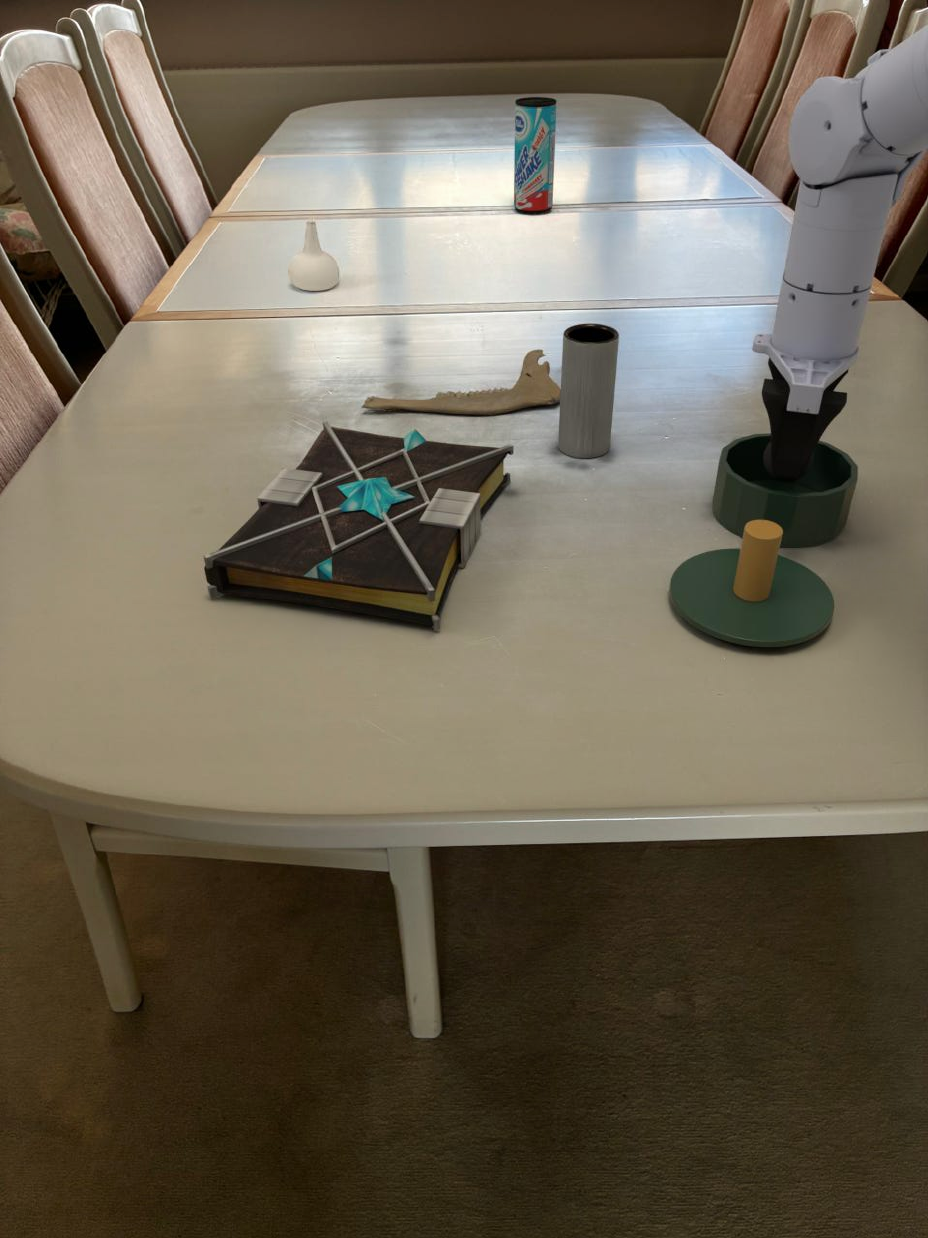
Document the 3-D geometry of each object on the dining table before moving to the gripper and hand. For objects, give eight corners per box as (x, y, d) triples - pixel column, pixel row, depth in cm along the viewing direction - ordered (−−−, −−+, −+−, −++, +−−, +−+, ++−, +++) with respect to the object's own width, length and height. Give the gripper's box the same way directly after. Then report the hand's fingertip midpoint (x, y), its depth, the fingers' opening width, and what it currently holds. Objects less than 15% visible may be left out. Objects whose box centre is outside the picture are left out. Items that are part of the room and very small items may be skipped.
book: (325, 457, 83) (319, 404, 80) (514, 481, 80) (515, 426, 77) (207, 600, 67) (194, 540, 64) (437, 638, 63) (435, 576, 60)
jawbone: (590, 402, 93) (592, 383, 91) (401, 456, 85) (400, 436, 84) (539, 363, 99) (541, 345, 97) (358, 411, 91) (357, 391, 90)
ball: (809, 471, 74) (819, 428, 72) (807, 493, 71) (817, 449, 69) (761, 464, 75) (769, 422, 73) (757, 486, 72) (765, 443, 70)
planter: (618, 454, 83) (628, 338, 77) (570, 462, 82) (576, 346, 76) (596, 432, 87) (605, 319, 80) (550, 439, 86) (554, 326, 79)
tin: (845, 491, 77) (858, 442, 75) (843, 557, 70) (857, 505, 67) (720, 474, 80) (728, 426, 77) (704, 535, 73) (712, 484, 70)
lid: (833, 575, 68) (853, 500, 64) (828, 668, 60) (850, 589, 56) (680, 550, 71) (691, 477, 67) (656, 636, 63) (666, 559, 59)
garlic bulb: (313, 274, 124) (306, 208, 119) (350, 282, 121) (345, 216, 116) (279, 288, 120) (271, 220, 115) (317, 297, 117) (310, 228, 112)
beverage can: (506, 208, 148) (507, 99, 138) (539, 203, 150) (542, 95, 141) (526, 217, 143) (529, 105, 134) (559, 212, 146) (564, 101, 136)
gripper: (773, 244, 71) (743, 414, 79) (755, 311, 60) (723, 500, 68) (874, 252, 69) (833, 426, 77) (875, 322, 58) (827, 515, 66)
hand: (788, 462), depth 72 cm, fingers closed on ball, 3 cm apart
